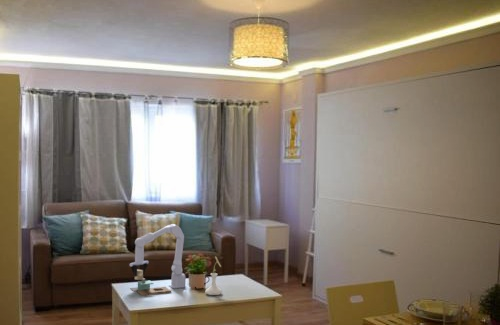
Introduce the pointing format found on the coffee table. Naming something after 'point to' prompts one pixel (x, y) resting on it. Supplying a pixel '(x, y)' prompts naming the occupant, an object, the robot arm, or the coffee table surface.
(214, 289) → the flower in vase
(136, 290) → the mat
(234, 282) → the coffee table surface
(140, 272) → the block
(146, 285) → the cover
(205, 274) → the coffee mug
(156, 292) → the board
